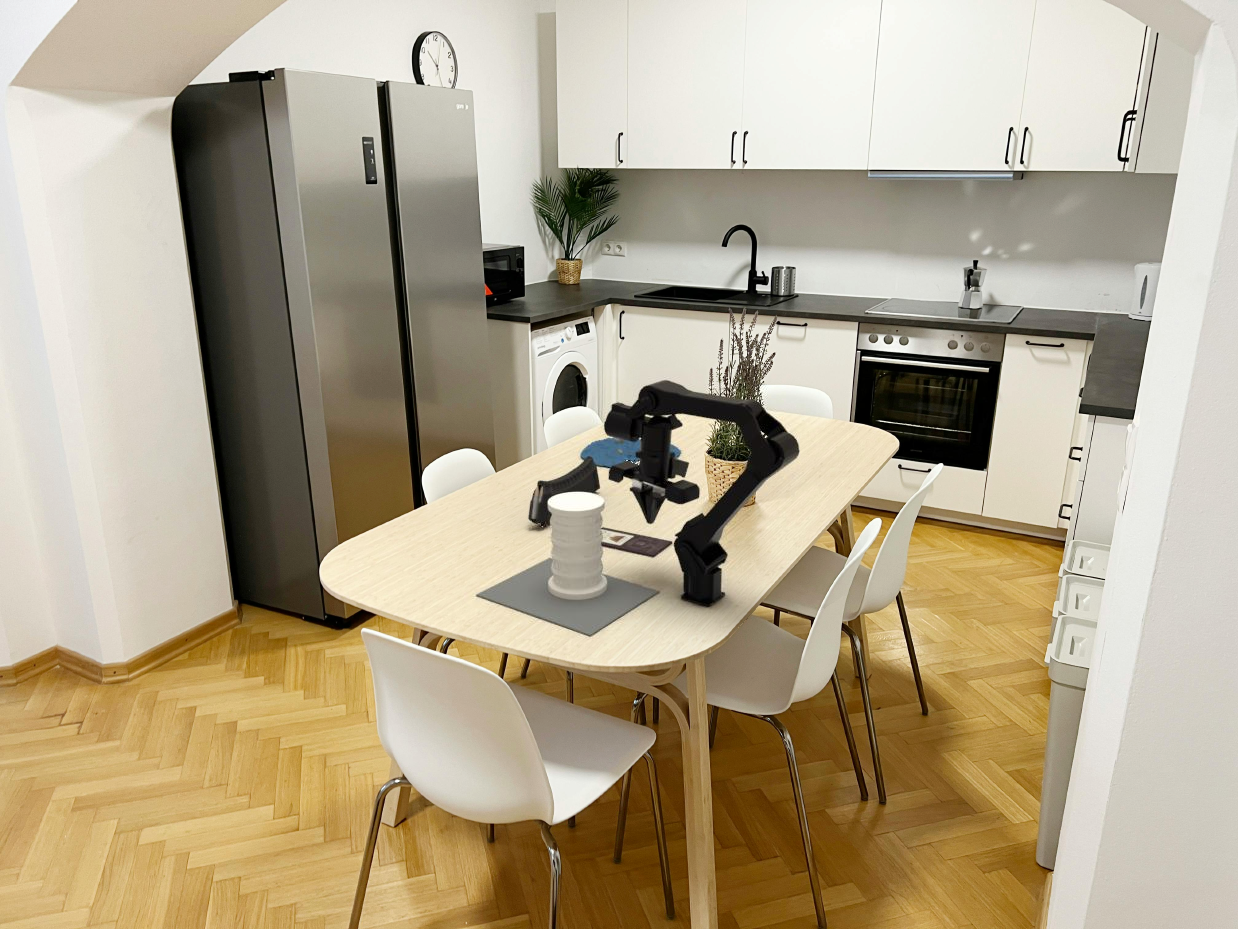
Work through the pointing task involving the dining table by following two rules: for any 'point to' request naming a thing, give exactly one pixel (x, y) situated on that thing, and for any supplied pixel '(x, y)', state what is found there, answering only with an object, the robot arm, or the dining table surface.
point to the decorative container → (576, 546)
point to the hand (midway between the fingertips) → (650, 523)
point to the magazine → (563, 489)
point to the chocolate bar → (633, 542)
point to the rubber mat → (577, 615)
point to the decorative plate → (615, 451)
